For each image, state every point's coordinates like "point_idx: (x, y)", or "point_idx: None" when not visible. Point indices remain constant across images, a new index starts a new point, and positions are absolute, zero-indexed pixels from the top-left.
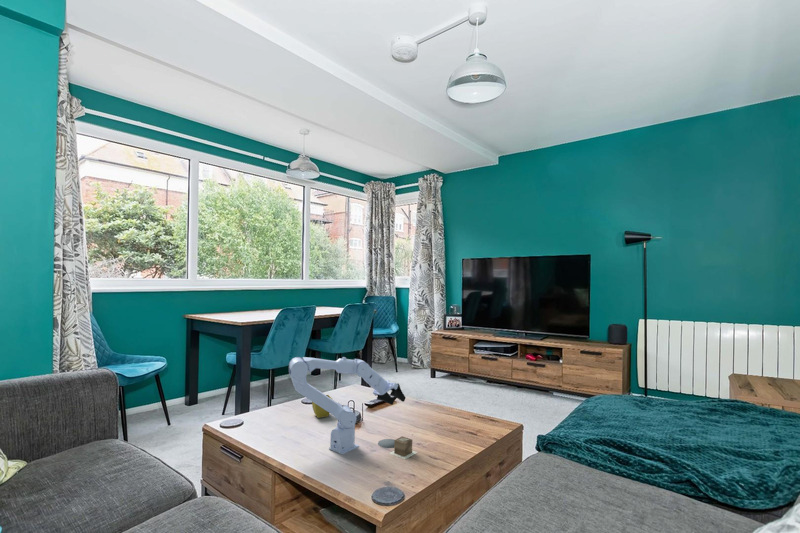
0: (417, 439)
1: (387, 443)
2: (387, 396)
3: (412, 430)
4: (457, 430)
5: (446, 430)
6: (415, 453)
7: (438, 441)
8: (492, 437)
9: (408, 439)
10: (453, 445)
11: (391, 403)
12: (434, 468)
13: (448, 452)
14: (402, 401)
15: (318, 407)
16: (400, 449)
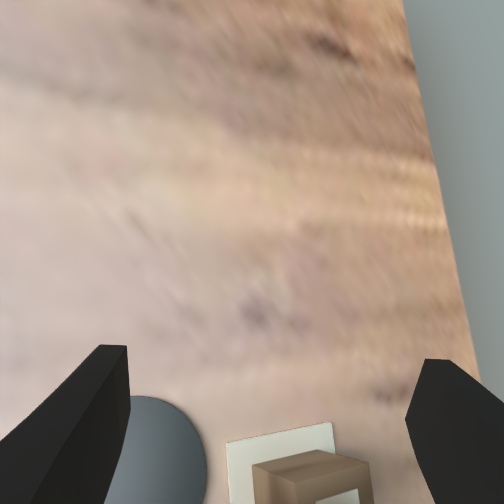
0: (212, 270)
1: (122, 495)
2: None
3: (90, 165)
4: (276, 45)
5: (241, 68)
6: (333, 442)
7: (301, 219)
8: (398, 58)
9: (357, 488)
10: (366, 217)
11: (122, 431)
12: None
13: (396, 297)
14: (409, 431)
15: None
16: None
